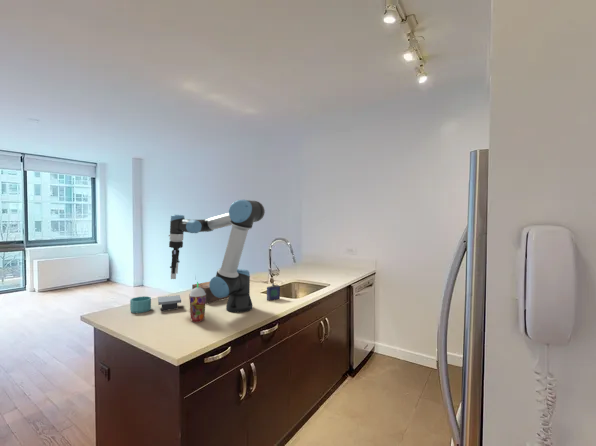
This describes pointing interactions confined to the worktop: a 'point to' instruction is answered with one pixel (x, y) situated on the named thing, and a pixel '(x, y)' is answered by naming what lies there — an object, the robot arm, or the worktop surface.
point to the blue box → (273, 292)
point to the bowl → (140, 304)
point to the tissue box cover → (208, 292)
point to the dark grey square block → (169, 306)
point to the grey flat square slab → (169, 300)
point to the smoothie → (197, 304)
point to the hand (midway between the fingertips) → (174, 276)
